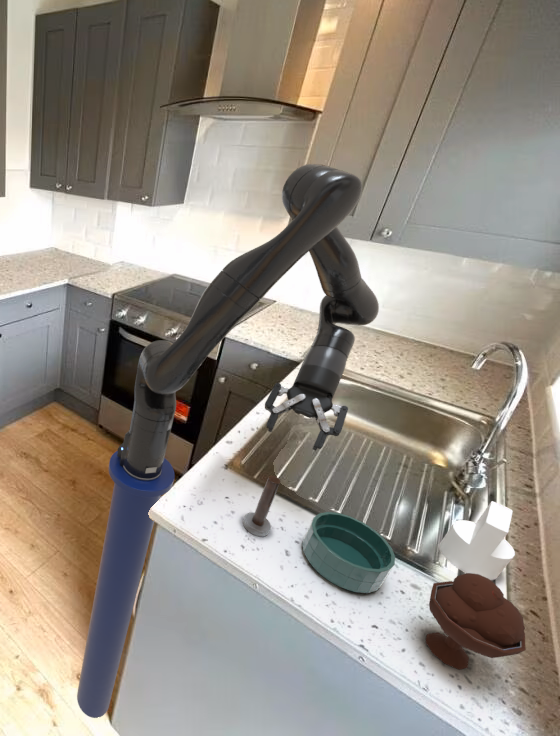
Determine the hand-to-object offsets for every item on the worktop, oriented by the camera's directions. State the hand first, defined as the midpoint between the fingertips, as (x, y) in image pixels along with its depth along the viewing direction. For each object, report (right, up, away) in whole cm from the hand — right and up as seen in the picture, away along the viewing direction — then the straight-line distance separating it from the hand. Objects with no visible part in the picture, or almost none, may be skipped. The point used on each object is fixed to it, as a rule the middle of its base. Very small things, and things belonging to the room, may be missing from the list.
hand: (291, 439), depth 88 cm
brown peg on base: (-7, -18, +1) cm, 20 cm away
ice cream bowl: (+14, -30, -19) cm, 38 cm away
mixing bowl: (+6, -23, -5) cm, 24 cm away
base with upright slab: (+34, -24, -3) cm, 41 cm away
